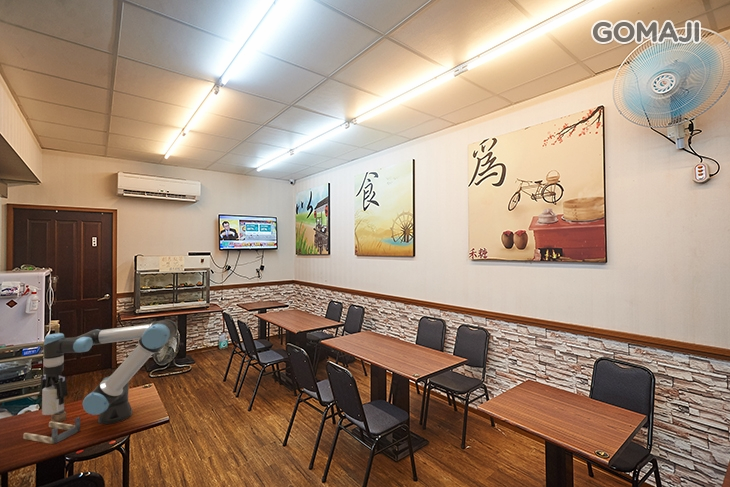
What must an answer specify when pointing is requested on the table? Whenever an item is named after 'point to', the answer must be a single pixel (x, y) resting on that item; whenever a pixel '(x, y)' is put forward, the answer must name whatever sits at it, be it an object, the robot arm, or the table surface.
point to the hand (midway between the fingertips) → (53, 409)
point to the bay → (55, 432)
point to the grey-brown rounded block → (59, 416)
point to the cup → (49, 400)
